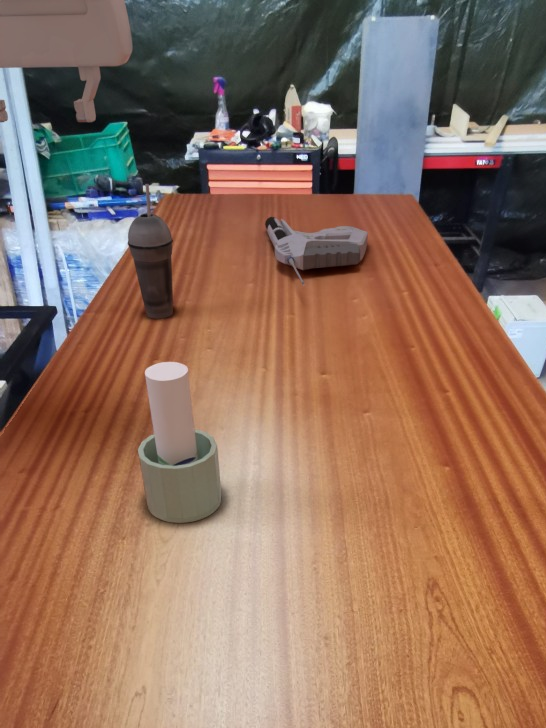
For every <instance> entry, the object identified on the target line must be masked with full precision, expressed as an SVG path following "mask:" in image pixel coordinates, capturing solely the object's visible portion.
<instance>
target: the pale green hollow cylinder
mask: <svg viewBox="0 0 546 728" xmlns="http://www.w3.org/2000/svg"><path fill="white" fill-rule="evenodd" d="M194 429H195V438H196V447H197V456H198V460H197V461H195V462H192V463H190V464H184V465H178V466H172V465H161V464H159V462H158V455H157V449H156V443H155V436H154V433H152V434H151V435H149V436H147V437H146V438H145V439H143V440H142V441H141V443H140V445H139V446H138V448H137V454H138V460H139V466H140V472H141V477H142V483H143V489H144V495H145V500H146V505H147V509H148V512H150V514H151V515H152V516H154V517H155V518H156V519H158V520H161V521H163V522H168V523H173V524H174V523H175V524H186V523H193V522H196V521H200V520H203V519H205V518H208V517H209V516H211V515H212V514H214V513H215V512H216V511H217V510H218V508H219V507H220V506H221V504H222V503H221V502H222V484H221V473H220V462H219V451H218V444H217V441H216V439H215V437H214V436H212V435H211V434H209V433H208V432H207V431H203V430H200V429H196V428H194Z"/></svg>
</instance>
